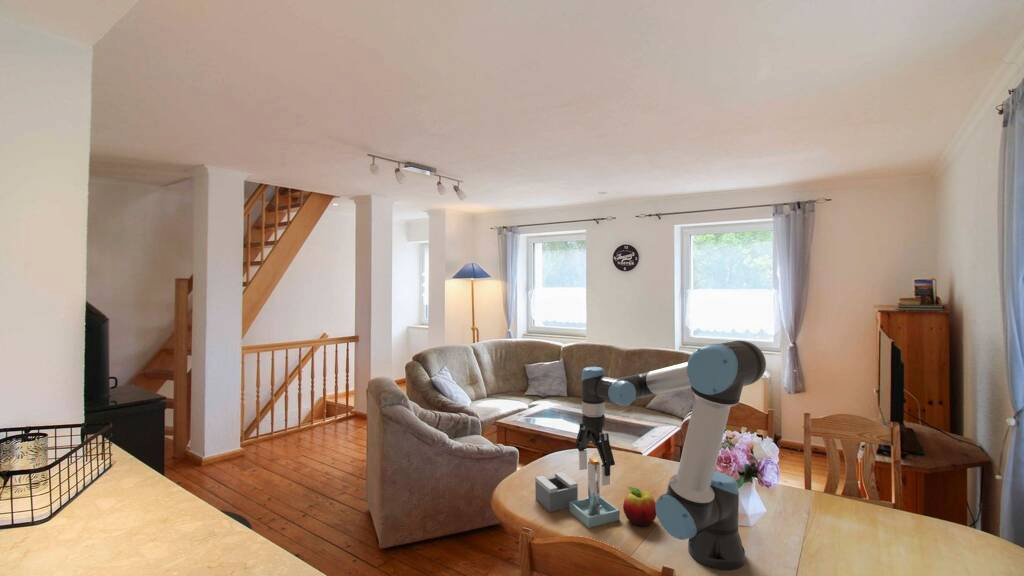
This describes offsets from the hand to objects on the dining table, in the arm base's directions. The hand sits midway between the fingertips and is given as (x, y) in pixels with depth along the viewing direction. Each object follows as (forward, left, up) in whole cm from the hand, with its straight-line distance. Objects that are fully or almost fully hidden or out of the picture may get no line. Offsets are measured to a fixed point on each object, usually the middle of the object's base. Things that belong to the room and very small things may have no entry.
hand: (594, 476), depth 161 cm
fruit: (-9, -11, -13) cm, 20 cm away
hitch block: (+14, +7, -13) cm, 20 cm away
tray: (0, 0, -13) cm, 13 cm away
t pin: (0, 0, -12) cm, 12 cm away
